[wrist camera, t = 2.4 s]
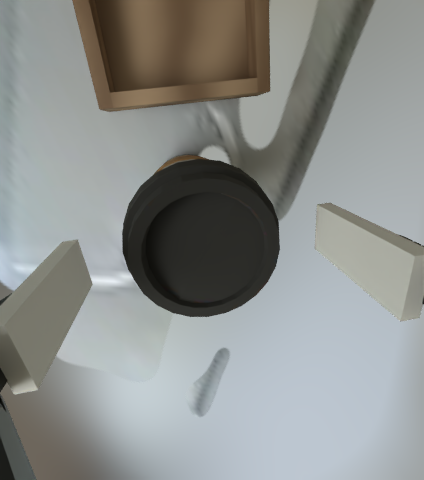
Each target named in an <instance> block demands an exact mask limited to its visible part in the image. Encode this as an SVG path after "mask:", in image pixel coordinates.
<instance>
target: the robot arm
mask: <svg viewBox="0 0 424 480" xmlns="http://www.w3.org/2000/svg"><path fill="white" fill-rule="evenodd" d="M315 249H316V250H317V251H318V252H319V253H320V254H322V255H323V256H324V257H325V258H326V259H328V260H329V261H330V262H331V263H332V264H333V265H335V266H336V267H337V268H338V269H339V270H341V271H342V272H343V273H344V274H345V275H346V276H348V277H349V278H350V279H351V280H352V281H354V282H355V283H356V284H357V285H358V286H360V287H361V288H362V289H363V290H364V291H365V292H366V293H368V294H369V295H370V296H371V297H372V298H374V299H375V300H376V301H377V302H378V303H379V304H381V305H382V306H383V307H384V308H385V309H387V310H388V311H389V312H390V313H391V314H392V315H394V316H395V317H396V318H397V319H398V320H400V321H406V320H411V319H416V318H419V317H420V314H421V309H422V305H423V304H424V246H421V244H419V243H417V242H413V241H412V240H410V239H408V238H406V237H404V236H401V235H397V234H395V233H393V232H391V231H388V230H386V229H384V228H382V227H380V226H378V225H376V224H374V223H372V222H369V221H368V220H365V219H363V218H361V217H359V216H357V215H355V214H353V213H351V212H349V211H346V210H344V209H342V208H340V207H338V206H336V205H333V204H332V203H325V204H318V205H317V216H316V235H315ZM91 286H92V281H91V278H90V275H89V272H88V269H87V266H86V263H85V260H84V257H83V254H82V251H81V248H80V245H79V242H78V240H72V241H65V242H62V243H61V244H60V245H59V246H58V247H57V248H56V249H55V250H54V251H53V252H52V253H51V254H50V255H49V256H48V257H47V258H46V259H45V260H44V261H43V262H42V263H41V264H40V265H39V267H38V268H37V269H36V270H35V271H34V272H33V273H32V274H31V275H30V276H29V277H28V278H27V279H26V280H25V281H24V282H23V283H22V284H21V285H20V286H19V287H18V288H17V289H16V290H15V291H14V292H13V293H11V294H10V295H9V296H7V297H5V298H4V299H2V300H1V301H0V392H1V390H2V389H3V387H4V386H5V384H6V382H7V383H8V384H9V386H10V388H11V389H12V391H13V393H14V394H19V393H25V392H30V391H35V390H38V389H39V387H40V385H41V383H42V382H43V379H44V378H45V376H46V374H47V372H48V370H49V368H50V366H51V364H52V362H53V360H54V358H55V356H56V354H57V352H58V350H59V349H60V347H61V345H62V343H63V341H64V339H65V337H66V335H67V333H68V331H69V329H70V327H71V325H72V323H73V321H74V319H75V317H76V316H77V314H78V312H79V310H80V308H81V306H82V304H83V302H84V300H85V298H86V296H87V294H88V292H89V290H90V288H91ZM0 480H36V477H35V475H34V472H33V470H32V467H31V465H30V463H29V460H28V457H27V455H26V453H25V450H24V448H23V445H22V443H21V440H20V438H19V436H18V433H17V430H16V428H15V426H14V423H13V421H12V418H11V416H10V413H9V411H8V409H7V406H6V404H5V401H4V399H3V398H2V396H1V394H0Z"/></svg>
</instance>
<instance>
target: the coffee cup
mask: <svg viewBox="0 0 424 480" xmlns="http://www.w3.org/2000/svg"><path fill="white" fill-rule="evenodd" d="M122 235H123V254H124V257H125V261H126V264H127V267H128V270H129V272H130V273H131V275H132V276H133V278H134V280H135V282H136V283H137V285H138V286H139V288H140V289H141V291H142V292H143V294H145V295H146V296H147V297H148V298H149V299H150V300H152V301H153V302H154V303H155V304H156V305H158V306H160V307H162V308H164V309H166V310H168V311H170V312H172V313H176V314H181V315H185V316H190V317H209V316H213V315H218V314H222V313H226V312H229V311H231V310H233V309H235V308H238V307H240V306H242V305H243V304H245V303H246V302H247V301H249V300H250V299H252V298H253V297H254V296H256V295H257V293H258V292H259V291H260V290H261V289H262V288H263V287H264V286H265V284H266V283H267V282H268V280H269V278H270V276H271V274H272V273H273V271H274V269H275V267H276V263H277V259H278V255H279V250H280V245H279V223H278V219H277V216H276V213H275V210H274V207H273V204H272V203H271V201H270V200H269V198H268V197H267V196H266V194H265V193H264V191H263V190H262V189H261V187H260V186H259V185H258V184H257V182H256V181H255V180H254V179H252V178H251V177H250V176H249V175H247V174H246V173H245V172H243V171H242V170H241V169H239V168H237V167H234V166H232V165H229V164H227V163H224V162H221V161H214V160H209V159H206V158H203V157H200V156H193V155H182V156H176V157H174V158H172V159H170V160H168V161H167V162H166V163H165V164H164V165H162V166H161V167H160V168H159V169H158V170H157V171H156V172H155V173H154V175H153V176H152V177H151V178H149V179H148V180H147V181H146V182H145V183H144V184H143V185H141V186H140V188H139V189H138V191H137V192H136V194H135V195H134V197H133V199H132V200H131V202H130V203H129V206H128V209H127V213H126V216H125V220H124V223H123V232H122Z"/></svg>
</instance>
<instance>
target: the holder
mask: <svg viewBox="0 0 424 480" xmlns="http://www.w3.org/2000/svg"><path fill="white" fill-rule="evenodd" d="M72 1H73V5H74V9H75V13H76V17H77V21H78V25H79V29H80V33H81V37H82V41H83V45H84V49H85V53H86V57H87V61H88V65H89V69H90V73H91V77H92V81H93V85H94V89H95V93H96V97H97V101H98V105H99V109H100V110H104V111H108V112H111V111H121V110H130V109H139V108H148V107H158V106H167V105H176V104H185V103H195V102H204V101H213V100H222V99H231V98H241V97H249V96H258V95H260V94H263V93H266V92H269V91H270V46H269V0H72Z"/></svg>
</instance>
